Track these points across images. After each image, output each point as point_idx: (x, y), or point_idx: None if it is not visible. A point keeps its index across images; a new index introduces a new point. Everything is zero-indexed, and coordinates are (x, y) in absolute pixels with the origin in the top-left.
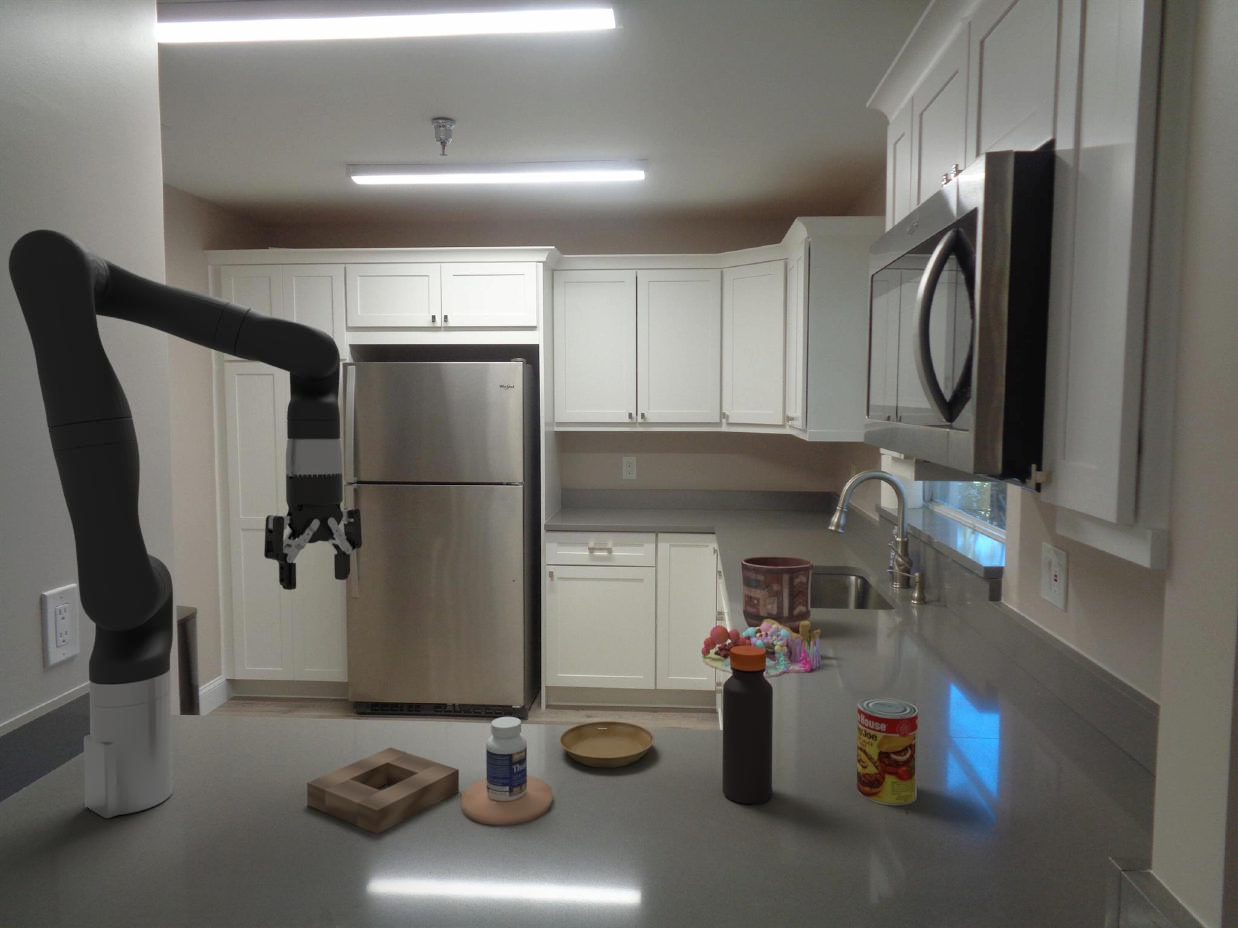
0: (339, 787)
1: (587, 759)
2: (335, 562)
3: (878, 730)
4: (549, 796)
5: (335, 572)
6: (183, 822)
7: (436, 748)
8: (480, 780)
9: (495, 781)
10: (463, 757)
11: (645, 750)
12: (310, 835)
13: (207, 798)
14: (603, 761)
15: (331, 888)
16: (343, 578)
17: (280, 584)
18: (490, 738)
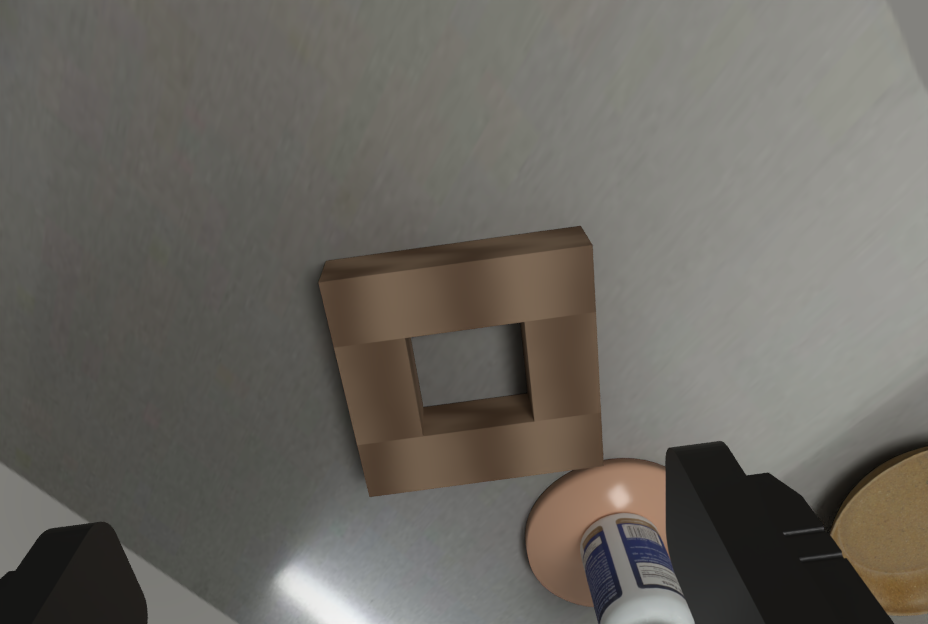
0: (364, 359)
1: None
2: (737, 586)
3: None
4: None
5: (687, 496)
6: (55, 120)
7: (738, 213)
8: (630, 470)
9: (587, 581)
10: (731, 312)
11: (915, 610)
12: (274, 384)
13: (134, 20)
14: None
15: (232, 545)
16: (672, 556)
17: (1, 582)
18: (626, 620)
